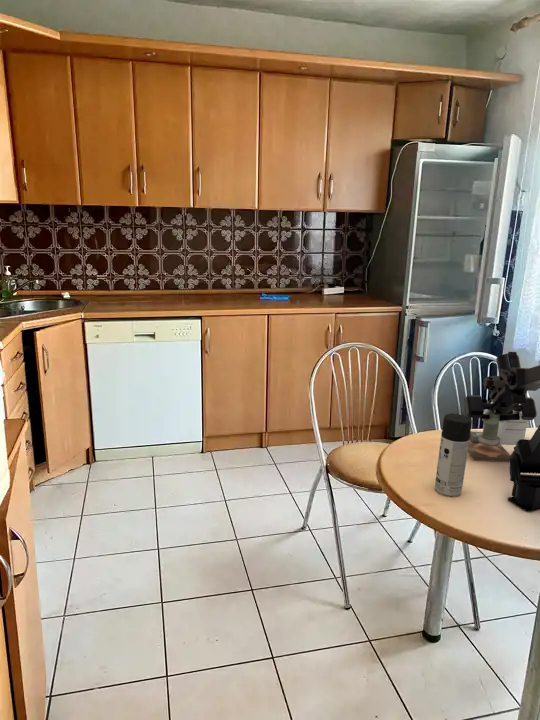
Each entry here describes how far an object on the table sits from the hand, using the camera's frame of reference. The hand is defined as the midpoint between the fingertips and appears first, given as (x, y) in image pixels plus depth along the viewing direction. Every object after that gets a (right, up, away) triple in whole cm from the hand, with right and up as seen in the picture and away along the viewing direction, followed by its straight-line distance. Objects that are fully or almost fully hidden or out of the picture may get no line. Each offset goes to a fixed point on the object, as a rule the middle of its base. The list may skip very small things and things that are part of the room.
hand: (490, 419), depth 163 cm
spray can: (-19, -16, -21) cm, 33 cm away
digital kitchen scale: (0, -10, +3) cm, 10 cm away
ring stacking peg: (0, -7, 0) cm, 7 cm away
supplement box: (+10, -8, +12) cm, 17 cm away
